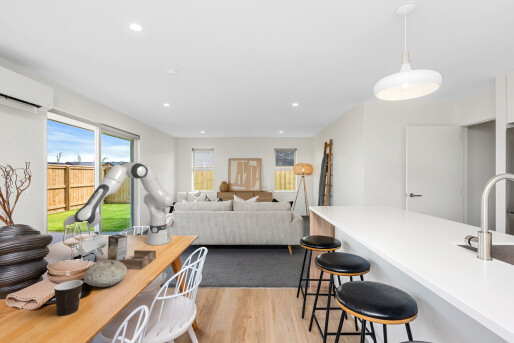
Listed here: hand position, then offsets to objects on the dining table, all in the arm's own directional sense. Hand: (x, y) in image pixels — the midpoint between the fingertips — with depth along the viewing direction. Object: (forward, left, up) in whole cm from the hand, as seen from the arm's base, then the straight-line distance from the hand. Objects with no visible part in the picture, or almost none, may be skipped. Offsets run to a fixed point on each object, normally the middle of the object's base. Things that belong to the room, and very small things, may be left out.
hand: (101, 255), depth 147 cm
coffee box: (0, +9, -5) cm, 10 cm away
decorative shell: (+28, +20, -5) cm, 35 cm away
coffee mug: (+54, +21, -5) cm, 58 cm away
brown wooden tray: (0, +19, -6) cm, 20 cm away
